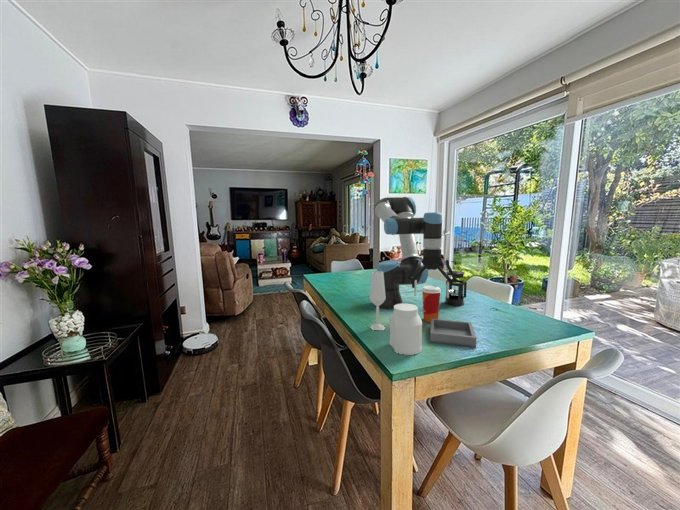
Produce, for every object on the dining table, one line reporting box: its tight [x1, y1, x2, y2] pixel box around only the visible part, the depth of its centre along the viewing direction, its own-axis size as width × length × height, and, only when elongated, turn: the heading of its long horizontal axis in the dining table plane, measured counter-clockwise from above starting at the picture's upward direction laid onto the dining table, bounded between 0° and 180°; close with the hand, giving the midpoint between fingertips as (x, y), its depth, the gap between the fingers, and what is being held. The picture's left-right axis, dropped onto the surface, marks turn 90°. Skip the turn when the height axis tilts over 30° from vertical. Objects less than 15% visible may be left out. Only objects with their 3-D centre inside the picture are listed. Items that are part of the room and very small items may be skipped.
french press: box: [444, 260, 467, 307], centre depth 145 cm, size 12×9×23 cm
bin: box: [429, 318, 477, 348], centre depth 106 cm, size 15×15×4 cm
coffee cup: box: [421, 285, 442, 324], centre depth 122 cm, size 8×8×15 cm
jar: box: [389, 302, 423, 356], centre depth 97 cm, size 12×10×15 cm
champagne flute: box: [369, 270, 386, 331], centre depth 115 cm, size 7×7×24 cm
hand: (431, 296), depth 121 cm, fingers open, 13 cm apart
